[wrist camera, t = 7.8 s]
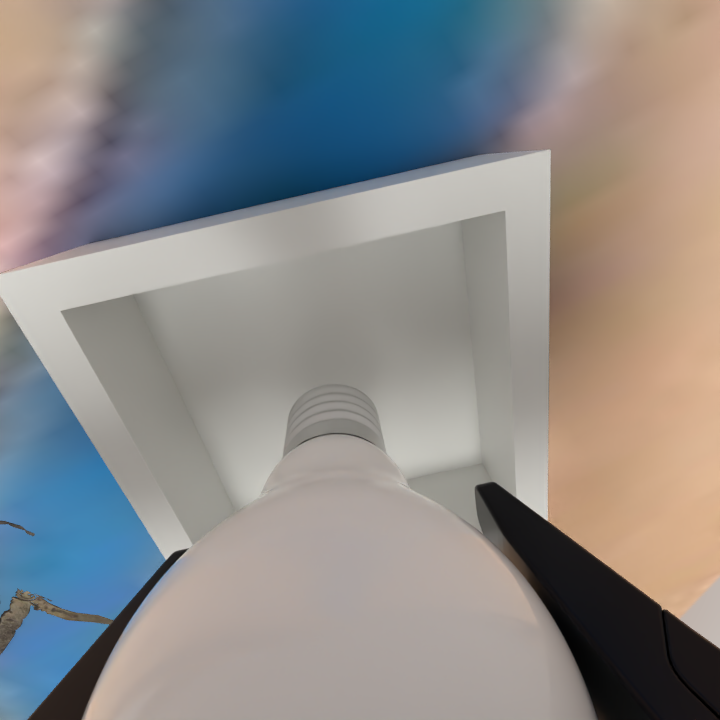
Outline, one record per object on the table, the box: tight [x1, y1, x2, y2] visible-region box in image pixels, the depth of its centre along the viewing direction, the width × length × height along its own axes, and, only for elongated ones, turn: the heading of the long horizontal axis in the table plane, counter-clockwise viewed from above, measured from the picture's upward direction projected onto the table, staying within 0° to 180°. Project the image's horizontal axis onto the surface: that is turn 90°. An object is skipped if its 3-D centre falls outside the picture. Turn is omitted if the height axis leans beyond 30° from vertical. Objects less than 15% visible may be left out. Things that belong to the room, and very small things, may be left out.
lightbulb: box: [81, 384, 599, 720], centre depth 8 cm, size 6×6×11 cm
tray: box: [0, 149, 551, 560], centre depth 13 cm, size 12×12×4 cm
